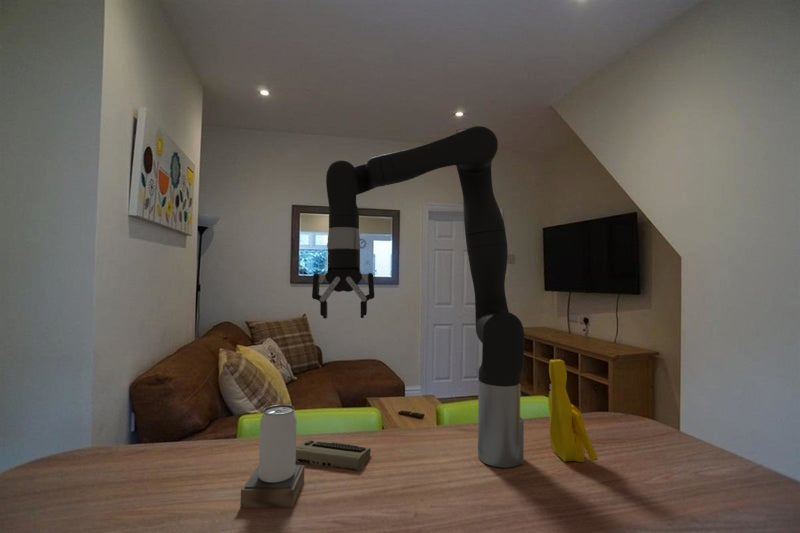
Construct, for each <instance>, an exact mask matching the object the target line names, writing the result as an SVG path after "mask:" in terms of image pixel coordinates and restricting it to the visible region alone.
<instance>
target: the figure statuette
mask: <svg viewBox="0 0 800 533" xmlns="http://www.w3.org/2000/svg"><path fill="white" fill-rule="evenodd" d="M548 373H549V379H550V384H551V390H550V393H549V395H548V408H549V417H550V419H549V421H550V422H549V430H548V431H549V433H548V434H549V443H550V447H551V451H552V452H553V453H555V454H556V455H557V456H558V457H559V459H561V460H562V461H563V462H580V463H583V462H585V450H586V454H587V456H588V458H589V460H590V462H593V461H594V462H595V461H597V460H599V457H598V455H597V453H596V451H595V448H594V446H593V444H592V441H591V440H590V437H589V434H588V433H587V430H586V427H585V424H586V422H585V419H584V418H583V416H582V415H583V413H582V412H581V411H580V409H578V408H577V407H576V406H575V405H573V403H571V400H570V397H569V394H568V392H567V391H568V390H567V389H566V388H567V379H568V376H567V375H568V373H567V367H566V362H565V360H562V359H558V358H555V359H550V360H549V364H548Z"/></svg>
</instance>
